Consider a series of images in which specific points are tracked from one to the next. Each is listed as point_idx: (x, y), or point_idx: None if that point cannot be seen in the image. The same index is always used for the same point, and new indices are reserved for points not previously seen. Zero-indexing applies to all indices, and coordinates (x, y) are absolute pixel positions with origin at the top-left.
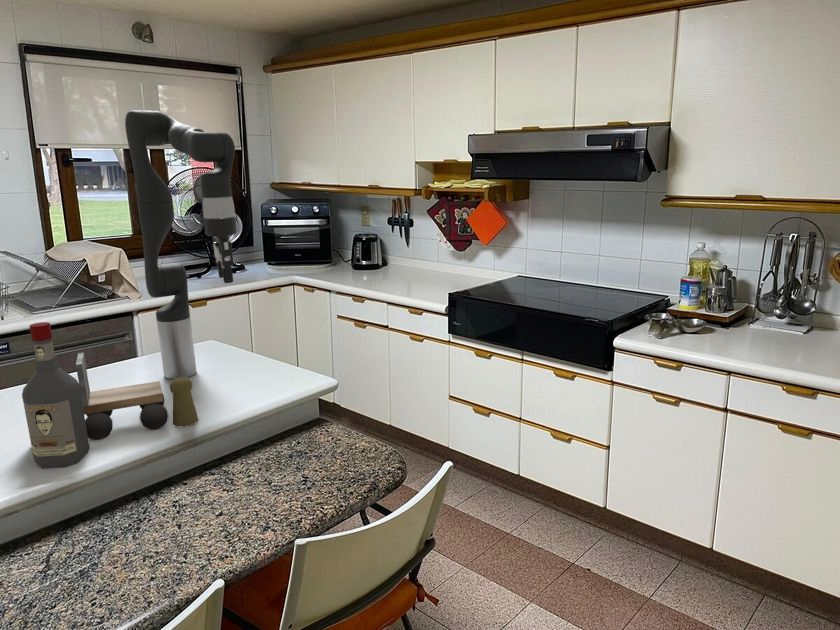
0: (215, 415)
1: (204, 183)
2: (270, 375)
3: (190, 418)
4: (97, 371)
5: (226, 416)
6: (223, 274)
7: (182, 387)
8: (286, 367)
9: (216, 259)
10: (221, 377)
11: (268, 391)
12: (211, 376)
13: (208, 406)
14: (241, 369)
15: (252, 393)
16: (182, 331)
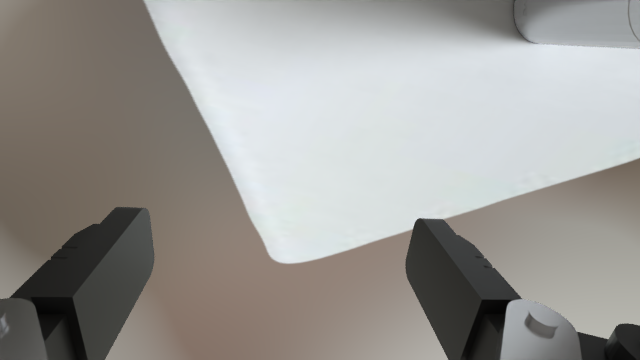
0: (203, 10)
1: None
2: (390, 182)
3: None
4: None
5: (184, 32)
6: (76, 249)
7: None
8: None
9: (560, 336)
10: (452, 87)
11: (294, 153)
12: (476, 68)
13: (273, 9)
14: (472, 141)
15: (301, 121)
16: (625, 4)
